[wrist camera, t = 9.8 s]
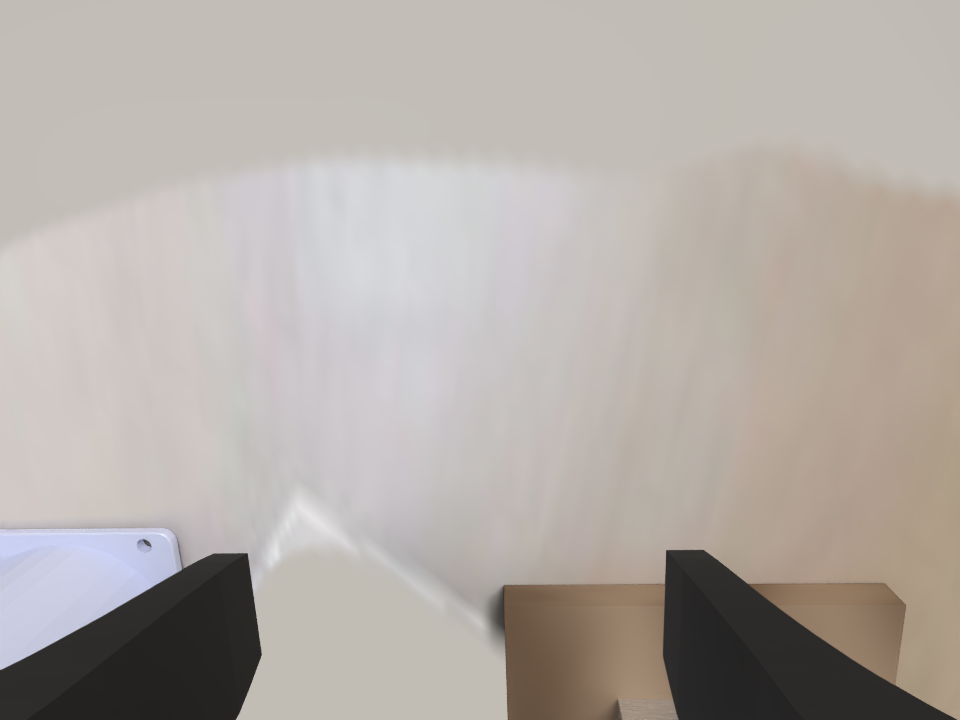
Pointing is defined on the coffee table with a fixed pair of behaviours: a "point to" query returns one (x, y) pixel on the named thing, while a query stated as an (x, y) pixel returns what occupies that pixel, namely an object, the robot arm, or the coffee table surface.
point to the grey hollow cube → (646, 709)
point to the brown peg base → (659, 641)
